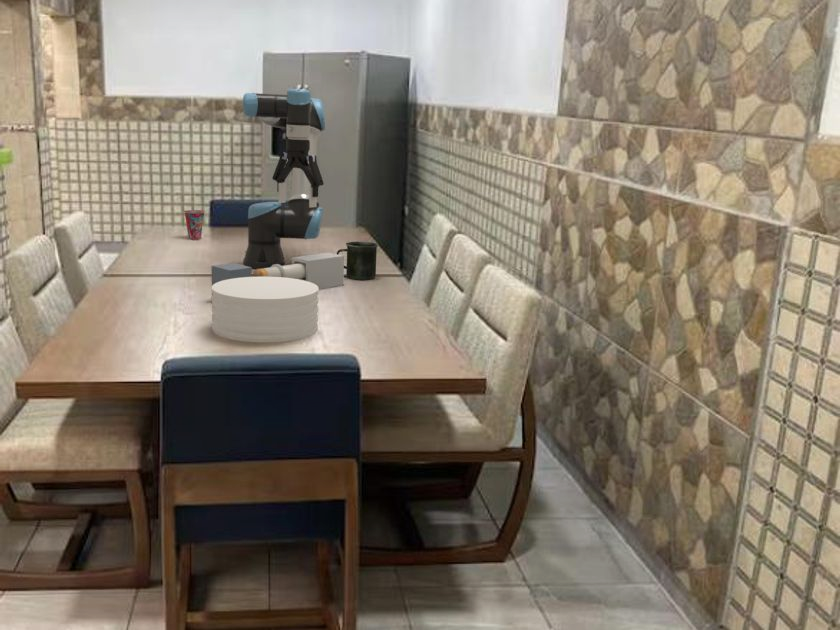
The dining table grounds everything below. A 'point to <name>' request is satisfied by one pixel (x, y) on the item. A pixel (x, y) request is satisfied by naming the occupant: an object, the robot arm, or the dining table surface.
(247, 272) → the socket
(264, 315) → the plate stack
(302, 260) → the sleeve
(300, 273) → the tube
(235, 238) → the dining table surface
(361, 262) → the mug
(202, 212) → the cup
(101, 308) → the dining table surface
